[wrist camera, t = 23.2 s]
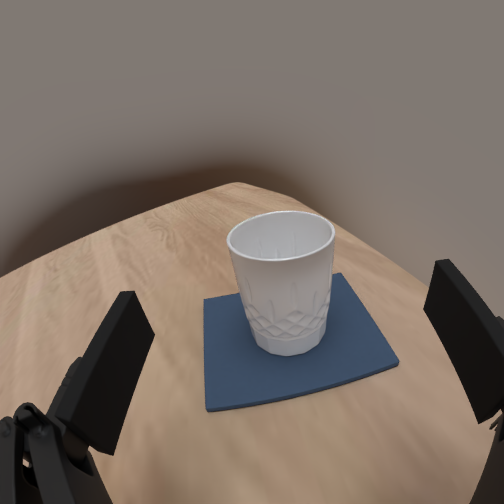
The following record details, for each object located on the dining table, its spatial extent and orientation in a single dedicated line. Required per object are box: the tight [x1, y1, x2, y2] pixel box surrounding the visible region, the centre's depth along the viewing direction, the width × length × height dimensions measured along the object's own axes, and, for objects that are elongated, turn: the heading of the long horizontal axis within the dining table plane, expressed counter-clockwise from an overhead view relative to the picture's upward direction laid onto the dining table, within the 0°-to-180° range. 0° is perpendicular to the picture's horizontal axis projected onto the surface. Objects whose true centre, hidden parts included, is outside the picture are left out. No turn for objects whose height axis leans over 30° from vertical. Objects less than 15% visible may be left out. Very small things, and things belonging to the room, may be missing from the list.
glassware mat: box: [204, 273, 399, 412], centre depth 25 cm, size 16×14×1 cm
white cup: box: [227, 211, 335, 356], centre depth 23 cm, size 8×8×10 cm
